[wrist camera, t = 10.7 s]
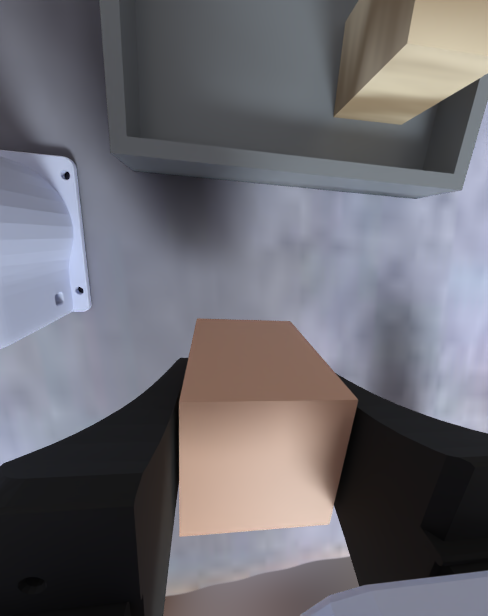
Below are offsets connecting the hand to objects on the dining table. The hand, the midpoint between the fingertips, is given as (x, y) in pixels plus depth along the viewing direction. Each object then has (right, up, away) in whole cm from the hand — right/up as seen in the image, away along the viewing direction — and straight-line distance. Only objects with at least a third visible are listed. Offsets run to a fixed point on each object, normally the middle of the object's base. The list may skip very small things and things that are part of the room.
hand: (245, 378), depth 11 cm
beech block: (+8, +17, +4) cm, 19 cm away
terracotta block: (0, 0, +1) cm, 2 cm away
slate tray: (+3, +17, +4) cm, 18 cm away
